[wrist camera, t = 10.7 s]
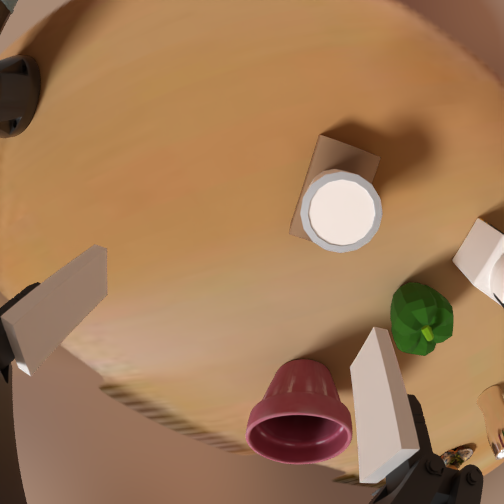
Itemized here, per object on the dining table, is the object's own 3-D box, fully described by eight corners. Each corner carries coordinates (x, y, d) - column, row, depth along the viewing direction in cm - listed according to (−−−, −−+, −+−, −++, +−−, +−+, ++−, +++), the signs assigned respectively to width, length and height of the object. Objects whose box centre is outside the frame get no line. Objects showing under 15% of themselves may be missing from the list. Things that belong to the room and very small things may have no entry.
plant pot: (350, 343, 41) (357, 410, 30) (345, 402, 46) (347, 463, 35) (253, 346, 44) (236, 411, 33) (264, 404, 49) (252, 463, 38)
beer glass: (477, 390, 41) (500, 448, 28) (504, 379, 40) (530, 432, 26) (472, 410, 44) (490, 464, 30) (498, 399, 42) (519, 450, 28)
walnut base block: (290, 223, 36) (288, 234, 32) (319, 134, 32) (320, 135, 28) (341, 239, 36) (345, 252, 32) (372, 154, 31) (380, 157, 28)
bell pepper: (437, 315, 37) (461, 360, 28) (386, 329, 39) (400, 378, 30) (436, 264, 35) (467, 304, 26) (380, 279, 37) (398, 324, 28)
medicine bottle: (505, 240, 31) (553, 278, 20) (480, 281, 34) (519, 328, 23) (477, 215, 31) (528, 250, 20) (450, 260, 34) (491, 307, 23)
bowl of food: (457, 464, 53) (461, 484, 46) (424, 468, 54) (428, 490, 48) (480, 441, 48) (486, 462, 41) (447, 446, 50) (452, 469, 43)
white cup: (352, 152, 28) (365, 158, 22) (375, 213, 30) (393, 235, 24) (290, 178, 30) (286, 191, 24) (317, 237, 32) (319, 264, 26)
